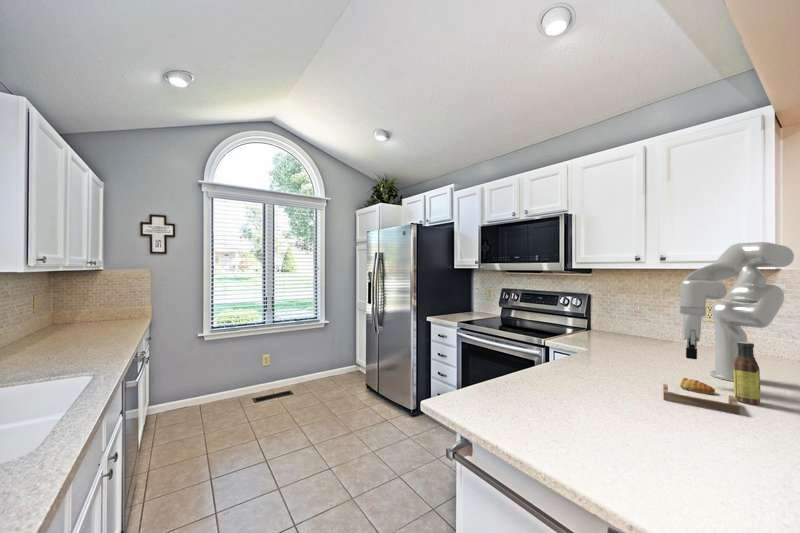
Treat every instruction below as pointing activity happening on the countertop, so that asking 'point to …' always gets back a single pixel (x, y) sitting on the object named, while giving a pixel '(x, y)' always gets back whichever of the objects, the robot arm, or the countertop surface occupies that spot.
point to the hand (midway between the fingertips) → (691, 358)
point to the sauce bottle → (746, 375)
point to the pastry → (696, 386)
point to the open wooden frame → (703, 402)
